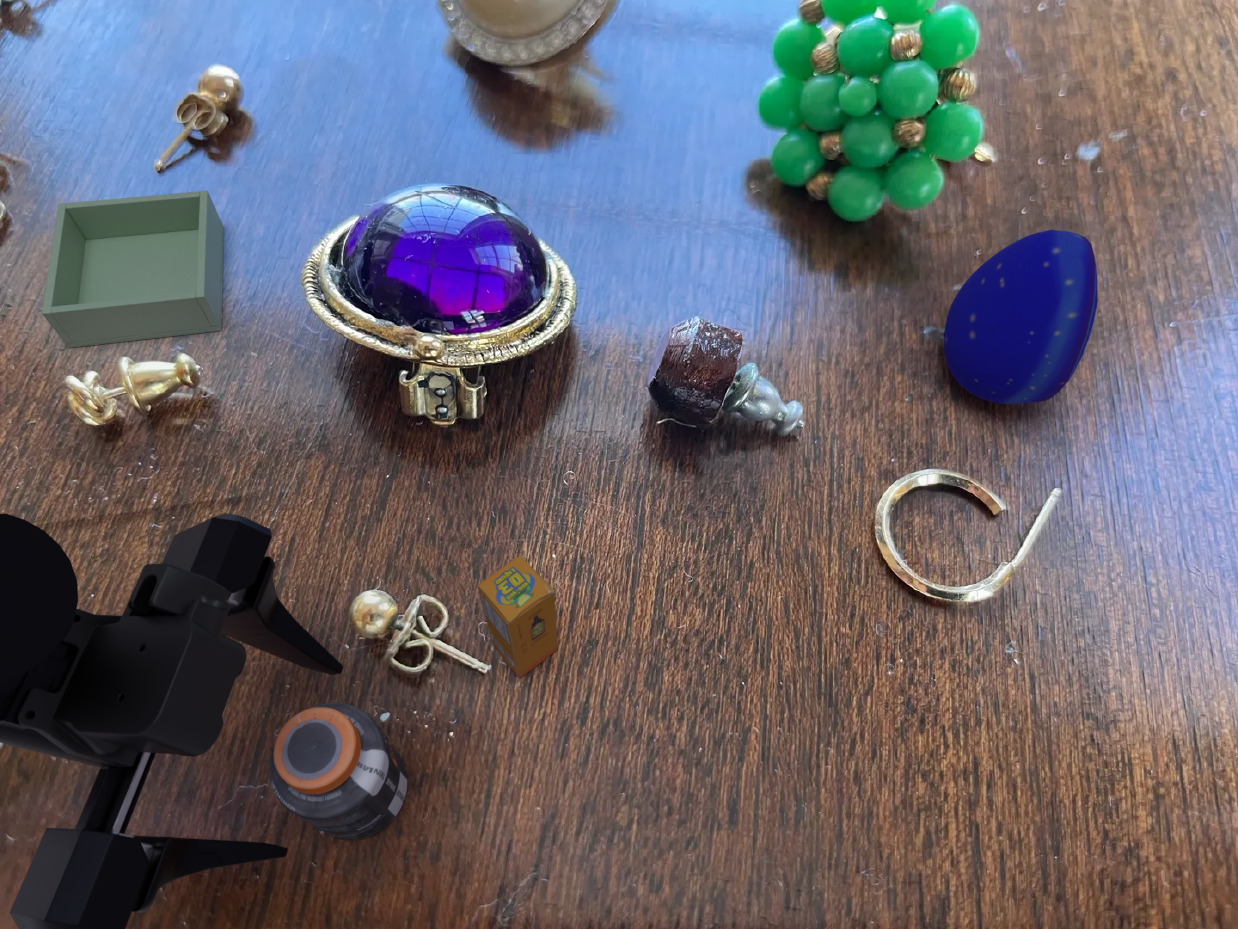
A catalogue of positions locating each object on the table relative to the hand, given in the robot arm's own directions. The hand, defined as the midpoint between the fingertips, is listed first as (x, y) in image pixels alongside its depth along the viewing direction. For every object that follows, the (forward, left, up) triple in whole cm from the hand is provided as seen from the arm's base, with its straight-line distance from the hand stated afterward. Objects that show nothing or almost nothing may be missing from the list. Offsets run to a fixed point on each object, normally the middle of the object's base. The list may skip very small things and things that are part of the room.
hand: (312, 757), depth 46 cm
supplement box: (+12, +7, -9) cm, 16 cm away
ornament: (+52, +23, -9) cm, 57 cm away
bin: (-13, +42, -8) cm, 45 cm away
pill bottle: (+1, 0, -9) cm, 9 cm away
